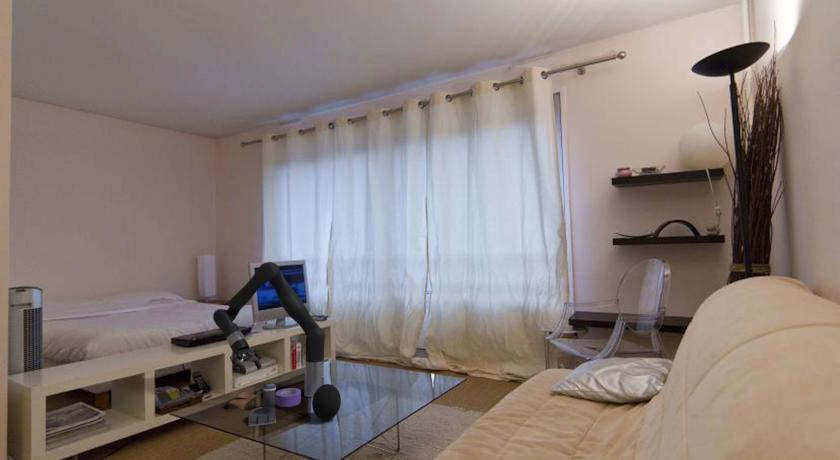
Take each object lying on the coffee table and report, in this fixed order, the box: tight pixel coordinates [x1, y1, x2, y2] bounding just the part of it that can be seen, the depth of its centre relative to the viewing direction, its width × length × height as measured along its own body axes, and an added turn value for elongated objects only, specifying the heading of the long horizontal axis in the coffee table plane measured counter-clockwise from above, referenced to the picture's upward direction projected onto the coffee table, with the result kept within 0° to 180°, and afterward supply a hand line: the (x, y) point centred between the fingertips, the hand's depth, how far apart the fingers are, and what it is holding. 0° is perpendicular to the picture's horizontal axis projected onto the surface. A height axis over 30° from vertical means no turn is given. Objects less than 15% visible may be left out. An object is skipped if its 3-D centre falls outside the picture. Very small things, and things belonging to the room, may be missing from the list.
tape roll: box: [275, 387, 302, 408], centre depth 198 cm, size 12×12×5 cm
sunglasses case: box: [225, 389, 259, 410], centre depth 196 cm, size 18×7×7 cm, turn 1°
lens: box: [262, 383, 277, 409], centre depth 188 cm, size 5×5×11 cm
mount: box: [248, 406, 277, 427], centre depth 177 cm, size 11×11×4 cm
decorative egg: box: [311, 383, 342, 421], centre depth 179 cm, size 12×12×15 cm
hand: (252, 370), depth 194 cm, fingers open, 8 cm apart
